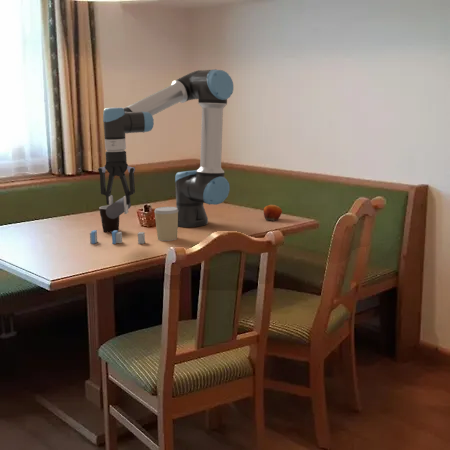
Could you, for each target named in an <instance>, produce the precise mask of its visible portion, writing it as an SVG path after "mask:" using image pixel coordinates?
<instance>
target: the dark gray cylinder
mask: <svg viewBox="0 0 450 450" xmlns="http://www.w3.org/2000/svg"><path fill="white" fill-rule="evenodd" d="M107 206H108V205H107ZM131 206H132V203H131V201H130V204H129V205H128V210H129V209H131ZM123 214H124V196H122V197H121V198H119V199H118V200H115V202H114V201H113V204H111V205H110V206H108V207H107V208H106V215H107V216H108V217H109V218H111V219H115V218H117V217H118V216H121V215H123Z"/></svg>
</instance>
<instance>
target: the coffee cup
mask: <svg viewBox="0 0 450 450" xmlns="http://www.w3.org/2000/svg"><path fill="white" fill-rule="evenodd" d="M154 220H155V228H156V235H157V237H156V238H157V240H158V241H161V242H170V241H171V242H172V241H177V239H178V233H179V232H178V230H179V229H178V227H179V226H178V209H177V208H176V206H160V207H156V208H155V209H154Z"/></svg>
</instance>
